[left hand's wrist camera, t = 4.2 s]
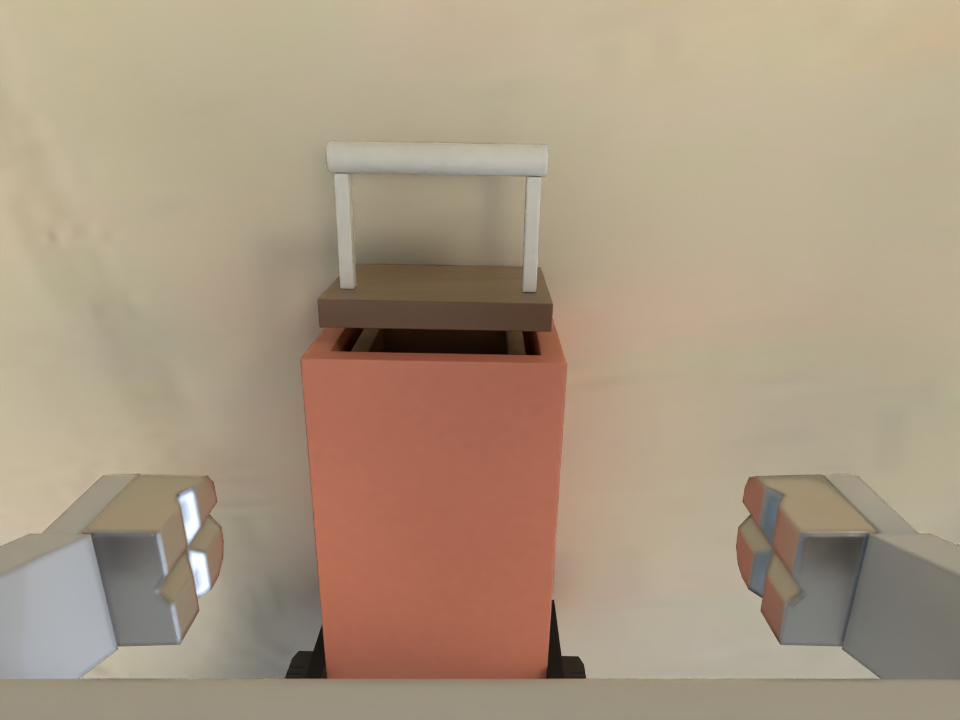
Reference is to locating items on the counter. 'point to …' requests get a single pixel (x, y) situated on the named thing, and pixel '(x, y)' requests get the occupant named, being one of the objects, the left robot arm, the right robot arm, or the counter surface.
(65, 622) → the left robot arm
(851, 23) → the counter surface
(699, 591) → the counter surface
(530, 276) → the drawer
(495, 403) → the tall pink open box
